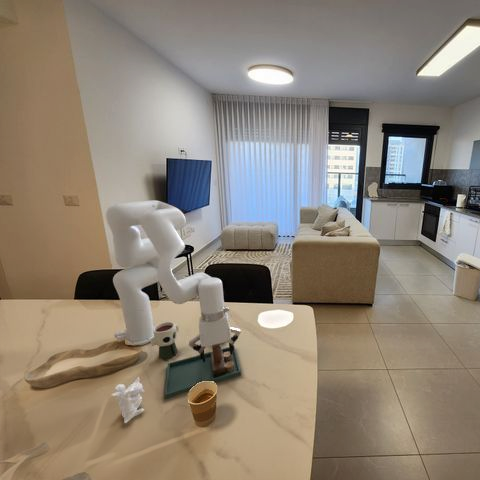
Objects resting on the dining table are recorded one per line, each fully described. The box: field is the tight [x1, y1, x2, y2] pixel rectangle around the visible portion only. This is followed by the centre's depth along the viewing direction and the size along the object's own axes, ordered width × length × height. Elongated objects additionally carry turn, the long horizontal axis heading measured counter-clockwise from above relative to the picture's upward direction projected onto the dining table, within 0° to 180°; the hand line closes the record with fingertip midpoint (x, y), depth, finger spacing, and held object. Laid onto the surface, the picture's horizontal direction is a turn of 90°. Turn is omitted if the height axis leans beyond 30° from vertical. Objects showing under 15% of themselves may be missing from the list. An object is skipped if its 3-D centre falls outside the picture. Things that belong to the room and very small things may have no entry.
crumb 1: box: [223, 351, 232, 361], centre depth 99 cm, size 3×3×2 cm
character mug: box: [150, 321, 180, 361], centre depth 99 cm, size 11×7×13 cm, turn 155°
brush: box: [211, 343, 226, 378], centre depth 94 cm, size 4×10×9 cm, turn 26°
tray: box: [164, 346, 242, 400], centre depth 93 cm, size 23×15×2 cm, turn 116°
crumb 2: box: [225, 362, 234, 372], centre depth 94 cm, size 3×3×2 cm
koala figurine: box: [110, 376, 145, 424], centre depth 75 cm, size 8×7×12 cm
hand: (217, 355), depth 94 cm, fingers open, 8 cm apart
